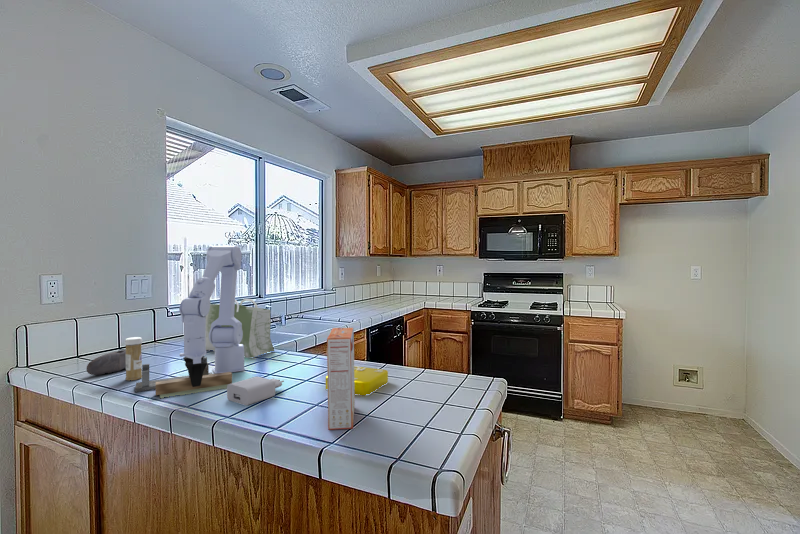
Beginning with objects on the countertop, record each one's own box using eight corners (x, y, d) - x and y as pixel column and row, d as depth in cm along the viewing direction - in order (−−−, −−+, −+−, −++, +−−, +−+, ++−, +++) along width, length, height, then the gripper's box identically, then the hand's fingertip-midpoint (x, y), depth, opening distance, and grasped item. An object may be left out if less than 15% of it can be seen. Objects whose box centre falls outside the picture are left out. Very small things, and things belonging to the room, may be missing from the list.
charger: (292, 391, 113) (247, 407, 101) (271, 386, 119) (226, 400, 106) (292, 375, 113) (247, 389, 101) (271, 370, 119) (226, 383, 106)
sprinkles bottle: (142, 379, 125) (141, 338, 125) (124, 381, 123) (124, 339, 123) (142, 376, 129) (142, 336, 129) (125, 378, 126) (125, 337, 126)
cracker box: (331, 407, 100) (331, 327, 100) (355, 407, 100) (354, 326, 100) (325, 430, 86) (325, 337, 86) (353, 429, 86) (352, 336, 86)
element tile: (322, 391, 114) (322, 375, 114) (349, 378, 128) (349, 363, 128) (366, 398, 108) (366, 381, 108) (390, 383, 121) (390, 368, 121)
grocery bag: (277, 351, 166) (277, 298, 166) (250, 358, 153) (250, 300, 153) (229, 344, 181) (229, 295, 181) (201, 350, 169) (201, 297, 169)
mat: (229, 380, 124) (229, 379, 124) (233, 387, 117) (233, 385, 117) (159, 390, 113) (159, 389, 113) (159, 398, 107) (159, 397, 107)
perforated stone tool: (90, 379, 126) (90, 357, 126) (81, 377, 128) (81, 356, 128) (138, 367, 139) (138, 348, 139) (129, 366, 142) (129, 347, 142)
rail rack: (211, 375, 130) (211, 356, 130) (214, 380, 124) (214, 360, 124) (136, 385, 118) (136, 364, 118) (135, 392, 112) (135, 370, 112)
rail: (230, 381, 122) (230, 371, 122) (232, 383, 119) (232, 373, 119) (155, 392, 111) (155, 382, 111) (155, 395, 108) (155, 384, 108)
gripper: (178, 335, 119) (178, 378, 119) (180, 342, 107) (181, 391, 107) (203, 332, 123) (203, 375, 123) (209, 340, 110) (209, 387, 110)
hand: (195, 382), depth 115 cm, fingers open, 7 cm apart
